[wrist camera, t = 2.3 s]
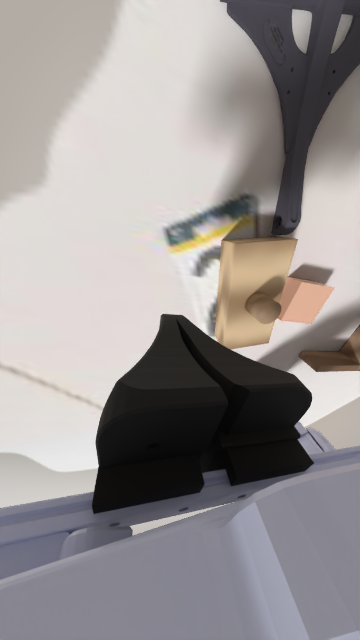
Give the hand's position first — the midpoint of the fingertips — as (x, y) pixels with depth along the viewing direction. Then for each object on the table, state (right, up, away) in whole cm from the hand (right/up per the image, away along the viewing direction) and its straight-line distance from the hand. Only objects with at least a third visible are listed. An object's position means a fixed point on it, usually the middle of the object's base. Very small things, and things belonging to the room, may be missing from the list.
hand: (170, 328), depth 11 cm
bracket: (+10, +17, +4) cm, 20 cm away
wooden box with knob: (+8, +4, +10) cm, 14 cm away
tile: (+16, +4, +12) cm, 20 cm away
